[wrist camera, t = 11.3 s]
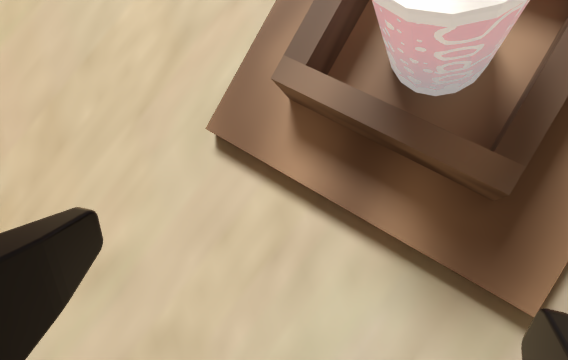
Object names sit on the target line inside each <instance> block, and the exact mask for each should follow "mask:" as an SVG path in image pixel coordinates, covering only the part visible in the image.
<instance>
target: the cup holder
mask: <svg viewBox="0 0 568 360" xmlns="http://www.w3.org/2000/svg"><path fill="white" fill-rule="evenodd" d="M206 129H207V130H209V131H210V132H212V133H214V134H216V135H217V136H219V137H221V138H223V139H224V140H226V141H228V142H230V143H231V144H233V145H235V146H236V147H238V148H240V149H242V150H243V151H245V152H247V153H249V154H250V155H252V156H254V157H256V158H257V159H259V160H261V161H263V162H264V163H266V164H268V165H270V166H271V167H273V168H275V169H277V170H278V171H280V172H282V173H283V174H285V175H287V176H289V177H290V178H292V179H294V180H296V181H297V182H299V183H301V184H303V185H304V186H306V187H308V188H310V189H311V190H313V191H315V192H317V193H318V194H320V195H322V196H323V197H325V198H327V199H329V200H330V201H332V202H334V203H336V204H337V205H339V206H341V207H343V208H344V209H346V210H348V211H350V212H351V213H353V214H355V215H357V216H358V217H360V218H362V219H364V220H365V221H367V222H369V223H370V224H372V225H374V226H376V227H377V228H379V229H381V230H383V231H384V232H386V233H388V234H390V235H391V236H393V237H395V238H397V239H398V240H400V241H402V242H404V243H405V244H407V245H409V246H411V247H412V248H414V249H416V250H417V251H419V252H421V253H423V254H424V255H426V256H428V257H430V258H431V259H433V260H435V261H437V262H438V263H440V264H442V265H444V266H445V267H447V268H449V269H451V270H452V271H454V272H456V273H457V274H459V275H461V276H463V277H464V278H466V279H468V280H470V281H471V282H473V283H475V284H477V285H478V286H480V287H482V288H484V289H485V290H487V291H489V292H491V293H492V294H494V295H496V296H498V297H499V298H501V299H503V300H504V301H506V302H508V303H510V304H511V305H513V306H515V307H517V308H518V309H520V310H522V311H524V312H525V313H527V314H529V315H531V316H532V317H535V315H536V313H537V312H538V311H539V309H540V307H541V306H542V304H543V302H544V301H545V299H546V297H547V296H548V294H549V292H550V291H551V289H552V287H553V286H554V284H555V282H556V281H557V279H558V277H559V276H560V274H561V272H562V271H563V269H564V267H565V266H566V264H567V262H568V0H530V1H529V2H528V4H527V6H526V7H525V9H524V10H523V12H522V13H521V15H520V16H519V18H518V19H517V21H516V23H515V24H514V26H513V27H512V29H511V30H510V32H509V33H508V35H507V36H506V38H505V40H504V41H503V43H502V44H501V46H500V47H499V49H498V50H497V52H496V53H495V55H494V57H493V58H492V60H491V61H490V63H489V64H488V66H487V67H486V68H485V70H484V71H483V72H482V73H481V75H480V76H479V77H478V78H477V79H476V81H475V82H474V83H472V84H470V85H469V86H467V87H465V88H463V89H461V90H460V91H458V92H456V93H451V94H445V95H439V96H432V95H427V94H422V93H417V92H415V91H413V90H412V89H410V88H409V87H407V86H406V85H404V84H403V83H401V82H400V80H399V79H398V77H397V76H396V74H395V72H394V71H393V69H392V68H391V64H390V61H389V57H388V54H387V50H386V47H385V43H384V40H383V36H382V33H381V29H380V26H379V23H378V19H377V16H376V12H375V9H374V5H373V2H372V0H276V2H275V3H274V5H273V7H272V9H271V11H270V13H269V14H268V16H267V18H266V20H265V22H264V23H263V25H262V27H261V29H260V31H259V32H258V34H257V36H256V38H255V40H254V42H253V43H252V45H251V47H250V49H249V51H248V52H247V54H246V56H245V58H244V60H243V62H242V63H241V65H240V67H239V69H238V71H237V72H236V74H235V76H234V78H233V80H232V82H231V83H230V85H229V87H228V89H227V91H226V92H225V94H224V96H223V98H222V100H221V102H220V103H219V105H218V107H217V109H216V111H215V112H214V114H213V116H212V118H211V120H210V121H209V123H208V125H207V127H206Z"/></svg>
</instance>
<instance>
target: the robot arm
mask: <svg viewBox="0 0 568 360" xmlns="http://www.w3.org/2000/svg"><path fill="white" fill-rule="evenodd" d="M102 245H103V237H102V232H101V228H100V224H99V219H98V216H97V214H96V212H95V211H93V210H90V209H85V208H81V207H75V208H72V209H69V210H66V211H63V212H61V213H58V214H55V215H52V216H49V217H46V218H43V219H40V220H37V221H34V222H32V223H29V224H26V225H23V226H20V227H17V228H14V229H11V230H8V231H5V232H3V233H0V360H25V359H26V358H27V357H28V356H29V354H30V353H31V352H32V350H33V349H34V348H35V346H36V345H37V344H38V342H39V341H40V340H41V338H42V337H43V336H44V335H45V333H46V332H47V331H48V329H49V328H50V327H51V325H52V324H53V323H54V321H55V320H56V319H57V318H58V316H59V315H60V313H61V312H62V311H63V309H64V308H65V306H66V305H67V303H68V302H69V300H70V299H71V297H72V296H73V294H74V292H75V291H76V289H77V288H78V286H79V284H80V283H81V281H82V279H83V278H84V276H85V275H86V273H87V271H88V270H89V268H90V267H91V265H92V263H93V262H94V260H95V259H96V257H97V255H98V254H99V252H100V250H101V248H102ZM521 350H522V360H568V314H566V313H564V312H559V311H555V310H550V309H540V310H539V311H538V312H537V313H536V315H535V317H534V319H533V321H532V322H531V324H530V326H529V328H528V330H527V332H526V333H525V335H524V337H523V340H522V348H521Z"/></svg>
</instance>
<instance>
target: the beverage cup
mask: <svg viewBox="0 0 568 360" xmlns="http://www.w3.org/2000/svg"><path fill="white" fill-rule="evenodd" d="M529 1H530V0H372V2H373V5H374V9H375V12H376V16H377V19H378V23H379V26H380V29H381V33H382V36H383V40H384V43H385V47H386V50H387V54H388V57H389V61H390V64H391V68H392V69H393V71H394V72H395V74H396V76H397V77H398V79H399V80H400V82H401V83H403V84H404V85H406V86H407V87H409V88H410V89H412V90H413V91H415V92H417V93H422V94H427V95H432V96H439V95H445V94H451V93H456V92H458V91H460V90H461V89H463V88H465V87H467V86H469V85H470V84H472V83H474V82H475V81H476V79H477V78H478V77H479V76H480V75H481V73H482V72H483V71H484V70H485V68H486V67H487V66H488V64H489V63H490V61H491V60H492V58H493V57H494V55H495V53H496V52H497V50H498V49H499V47H500V46H501V44H502V43H503V41H504V40H505V38H506V36H507V35H508V33H509V32H510V30H511V29H512V27H513V26H514V24H515V23H516V21H517V19H518V18H519V16H520V15H521V13H522V12H523V10H524V9H525V7H526V6H527V4H528V2H529Z"/></svg>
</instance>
